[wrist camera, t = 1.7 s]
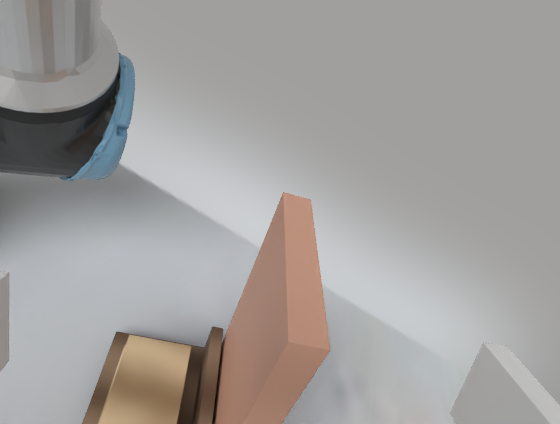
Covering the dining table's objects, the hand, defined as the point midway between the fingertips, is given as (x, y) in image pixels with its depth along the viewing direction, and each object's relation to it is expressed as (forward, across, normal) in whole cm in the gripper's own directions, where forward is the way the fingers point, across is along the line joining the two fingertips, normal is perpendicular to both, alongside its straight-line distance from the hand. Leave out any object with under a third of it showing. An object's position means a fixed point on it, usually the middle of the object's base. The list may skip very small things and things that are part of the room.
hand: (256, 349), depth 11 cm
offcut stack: (+17, -5, -21) cm, 27 cm away
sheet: (+17, +2, -21) cm, 27 cm away
